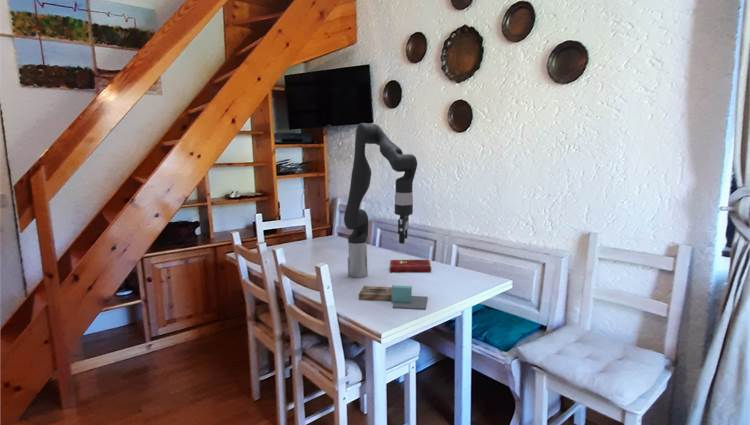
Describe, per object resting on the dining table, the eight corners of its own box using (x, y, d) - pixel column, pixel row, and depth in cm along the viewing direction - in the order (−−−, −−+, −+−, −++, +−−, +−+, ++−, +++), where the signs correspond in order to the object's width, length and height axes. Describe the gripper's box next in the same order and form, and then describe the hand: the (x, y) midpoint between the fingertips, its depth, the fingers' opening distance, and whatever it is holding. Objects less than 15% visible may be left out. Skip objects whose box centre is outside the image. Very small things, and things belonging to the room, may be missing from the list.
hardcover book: (431, 273, 210) (431, 265, 209) (389, 273, 211) (389, 265, 211) (429, 266, 221) (429, 259, 221) (390, 266, 223) (390, 259, 222)
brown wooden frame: (358, 299, 174) (358, 292, 174) (364, 291, 184) (363, 284, 184) (391, 301, 172) (391, 293, 171) (395, 292, 181) (395, 286, 181)
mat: (392, 308, 164) (392, 306, 164) (397, 296, 177) (397, 295, 177) (425, 309, 162) (425, 308, 161) (427, 297, 174) (427, 296, 174)
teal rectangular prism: (411, 302, 168) (391, 301, 170) (411, 300, 170) (392, 299, 172) (410, 288, 167) (391, 287, 169) (411, 286, 169) (392, 285, 171)
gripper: (397, 200, 179) (397, 236, 182) (391, 205, 165) (391, 244, 168) (414, 200, 177) (414, 237, 180) (410, 205, 164) (409, 245, 167)
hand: (403, 240), depth 174 cm, fingers open, 8 cm apart
